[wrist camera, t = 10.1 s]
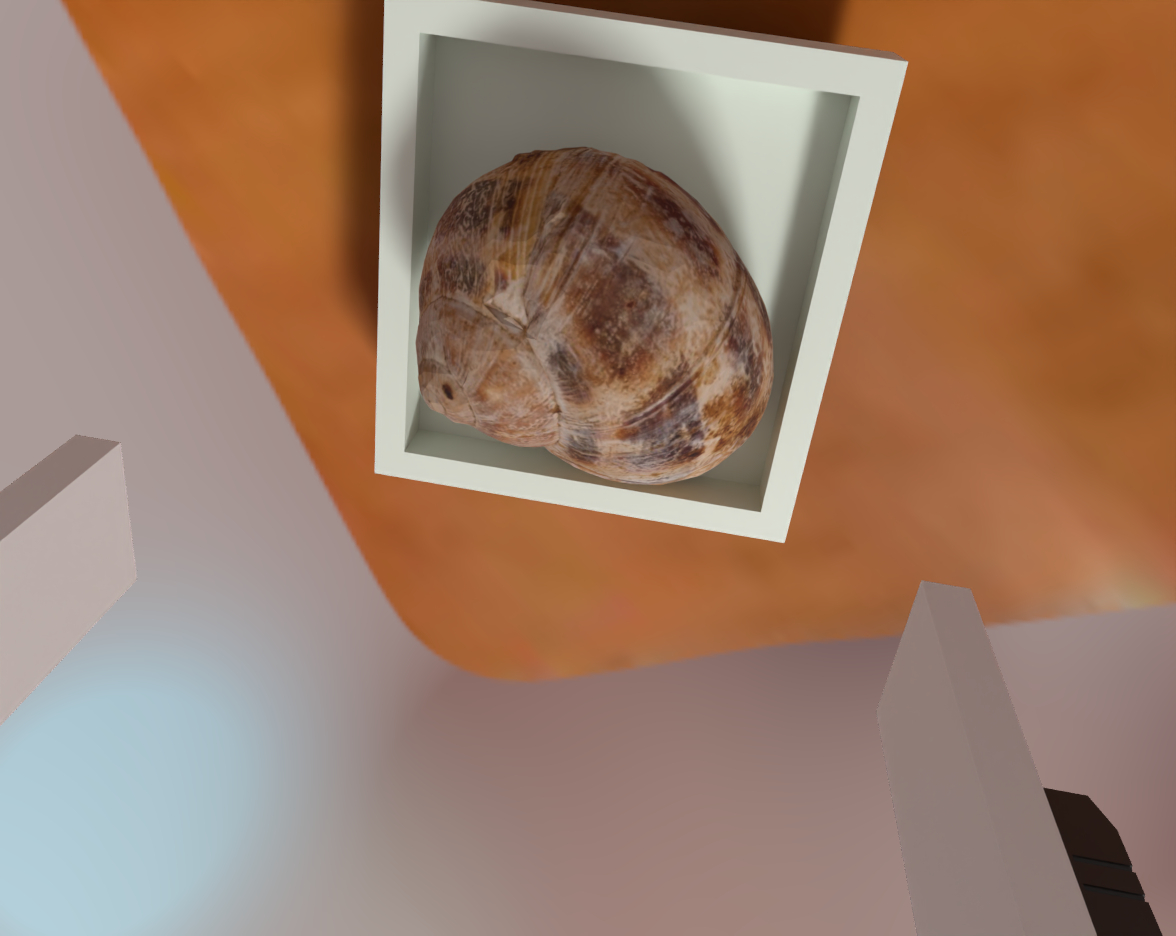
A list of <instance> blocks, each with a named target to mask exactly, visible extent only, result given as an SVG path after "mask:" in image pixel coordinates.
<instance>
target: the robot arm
mask: <svg viewBox="0 0 1176 936" xmlns="http://www.w3.org/2000/svg"><path fill="white" fill-rule="evenodd" d="M136 580H137V574H136V565H135V558H134V549H133V540H132V533H131V524H130V516H129V508H128V500H127V491H126V482H125V474H124V466H123V459H122V449H121V442H115V441H109V440H104V439H98V438H92V437H86V436H80V435H75V436H74V437H73V438H71V439H70V440H69V441H67V442H66V443H65V444H63V445H62V446H61V447H59V448H58V449H57V450H55V451H54V452H53V453H51V454H50V455H49V456H47V457H46V458H45V459H43V460H42V461H41V462H39V463H38V464H37V465H35V466H34V467H33V468H31V469H30V470H29V471H27V472H26V473H25V474H24V475H22V476H21V477H20V478H18V479H17V480H16V481H14V482H13V483H11V485H9V486H8V487H6V488H5V489H4V490H2V491H1V492H0V726H1V725H2V724H3V722H4V721H5V720H6V719H7V718H8V717H9V716H10V715H11V714H12V713H13V712H14V711H15V709H17V707H18V706H19V705H20V704H21V703H22V702H23V701H24V700H25V699H26V698H27V697H28V696H29V695H30V694H31V692H32V691H33V690H34V689H35V688H36V687H37V686H38V685H39V684H40V683H41V682H42V681H43V679H44V678H45V677H46V676H47V675H48V674H49V673H50V672H51V671H52V670H53V669H54V668H55V666H57V665H58V663H59V662H60V661H61V660H62V659H63V658H64V657H65V656H66V655H67V654H68V653H69V652H70V651H71V650H72V648H73V647H74V646H75V645H76V644H77V643H78V642H79V641H80V640H81V639H82V638H83V637H84V636H85V635H86V633H87V632H88V631H89V630H90V629H91V628H92V627H93V626H94V625H95V624H96V623H97V622H98V621H99V619H100V618H101V617H102V616H103V615H104V614H105V613H106V612H107V611H108V610H109V609H110V608H111V607H112V606H113V604H114V603H115V602H116V601H117V600H118V599H119V598H120V597H121V596H122V595H123V594H124V593H125V592H126V591H127V589H128V588H129V587H130V586H131V585H132V584H133V583H134V582H135V581H136ZM876 715H877V720H878V726H879V731H880V737H881V742H882V747H883V753H884V758H885V763H886V769H887V775H888V780H889V786H890V791H891V796H892V801H893V807H894V812H895V818H896V823H897V829H898V834H899V840H900V845H901V851H902V856H903V861H904V867H905V872H906V878H907V883H908V888H909V894H910V900H911V905H912V910H913V916H914V921H915V927H916V932H917V936H1162V933H1161V931H1160V929H1159V926H1158V924H1157V922H1156V919H1155V917H1154V915H1153V912H1152V910H1151V908H1150V905H1149V903H1148V902H1145V900H1144V896H1145V894H1144V891H1143V890H1142V887H1141V884H1140V882H1139V880H1138V877H1137V875H1136V873H1134V872H1132V864H1131V861H1130V859H1129V857H1128V854H1127V852H1126V850H1125V847H1124V845H1123V843H1122V840H1121V838H1120V836H1119V834H1118V831H1117V829H1116V828H1115V827H1114V826H1113V825H1112V824H1111V823H1110V821H1109V820H1108V819H1107V818H1106V817H1105V815H1104V814H1103V813H1102V812H1101V811H1100V810H1099V808H1098V807H1097V806H1096V805H1095V804H1094V803H1093V802H1092V800H1091V799H1090V798H1089V797H1088V796H1086V795H1080V794H1075V793H1069V792H1064V791H1058V790H1053V789H1047V788H1043V786H1042V783H1041V781H1040V778H1039V775H1038V772H1037V770H1036V767H1035V764H1034V761H1033V759H1032V756H1031V753H1030V751H1029V748H1028V745H1027V742H1026V740H1025V737H1024V734H1023V731H1022V729H1021V726H1020V723H1019V720H1018V718H1017V715H1016V712H1015V709H1014V707H1013V704H1012V701H1011V698H1010V696H1009V693H1008V690H1007V687H1006V685H1005V682H1004V679H1003V676H1002V674H1001V671H1000V668H999V666H998V663H997V660H996V657H995V655H994V652H993V649H992V646H991V644H990V641H989V638H988V635H987V633H986V630H985V627H984V624H983V622H982V619H981V616H980V613H979V611H978V608H977V605H976V602H975V600H974V597H973V594H972V591H971V589H968V588H962V587H957V586H951V585H945V584H939V583H933V582H928V581H922V580H921V583H920V586H919V589H918V592H917V595H916V598H915V601H914V604H913V606H912V609H911V612H910V615H909V618H908V621H907V624H906V627H905V630H904V633H903V635H902V638H901V641H900V644H899V647H898V650H897V653H896V656H895V659H894V661H893V664H892V667H891V670H890V673H889V676H888V679H887V682H886V685H885V688H884V691H883V693H882V696H881V699H880V702H879V705H878V708H877V711H876Z"/></svg>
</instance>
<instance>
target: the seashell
mask: <svg viewBox="0 0 1176 936" xmlns="http://www.w3.org/2000/svg"><path fill="white" fill-rule="evenodd" d="M415 343H416V354H417V364H418V381H419V388H420V392H421V394H422V396H423V398H424V400H425V402H426V404H427V405H428V406H429V407H430V409H432V410H434V411H436V412H439V413H441V414H443V415H444V416H446V417H447V418H448V419H450V420H451V421H453V422H455V423H461V424H467V425H470V426H472V427H474V428H475V429H477V430H479V431H481V432H483V433H484V434H486V435H488V436H490V437H492V438H494V439H497V440H499V441H501V442H504V443H508V444H511V445H514V446H518V447H542V446H544V447H545V448H546V449H547V450H548V451H549V452H550V453H552V454H553V455H555V456H557V457H558V458H560V459H562V460H563V461H565V462H566V463H568V464H570V465H572V466H574V467H575V468H578V469H580V470H582V471H585V472H587V473H590V474H593V475H596V476H598V477H601V478H604V479H607V480H611V481H615V482H621V483H628V484H644V485H645V484H648V485H663V484H668V483H672V482H676V481H681V480H685V479H689V478H693V477H697V476H699V475H701V474H703V473H705V472H707V471H709V470H711V469H712V468H714V467H716V466H717V465H719V464H720V463H721V462H722V461H723V460H725V459H726V458H727V457H728V456H730V455H731V454H732V453H733V452H734V451H736V450H737V449H738V448H739V447H740V446H742V445H743V443H744V442H745V441H746V440H747V439H748V438H749V437H750V436H751V435H752V433H753V431H754V430H755V428H756V427H757V425H758V423H759V422H760V420H761V418H762V416H763V414H764V411H765V409H766V407H767V403H768V400H769V397H770V393H771V390H772V384H773V378H774V366H773V340H772V333H771V326H770V320H769V316H768V313H767V310H766V306H765V304H764V301H763V299H762V297H761V295H760V293H759V290H758V288H757V286H756V284H755V282H754V280H753V279H752V277H751V275H750V273H749V271H748V269H747V268H746V266H745V264H744V263H743V261H742V260H741V258H740V256H739V255H738V253H737V252H736V251H735V249H734V248H733V246H732V245H731V243H730V241H729V239H728V238H727V236H726V235H725V233H724V231H723V230H722V228H721V227H720V225H719V224H718V223H717V222H716V221H715V220H714V219H713V217H712V216H711V215H710V214H709V213H708V212H707V211H706V210H705V209H704V207H703V206H702V205H701V204H700V203H699V202H698V200H696V199H695V198H694V197H693V196H691V195H690V194H689V193H688V192H687V191H685V190H684V189H683V188H682V187H680V186H679V185H678V184H677V183H676V182H674V181H673V180H672V179H671V178H669V177H668V176H666V175H665V174H663V173H662V172H660V171H655V170H653V169H651V168H649V167H647V166H645V165H644V164H643V163H641V162H639V161H637V160H634V159H630V158H625V157H623V156H621V155H619V154H616V153H611V152H606V151H600V150H597V149H594V148H592V147H590V148H588V147H573V148H562V149H558V150H534V151H532V152H529V153H519V154H517V155H515V156H514V158H513V160H512V161H511V162H508V163H506V164H504V165H502V166H500V167H498V168H496V169H494V170H492V171H490V172H488V173H486V174H484V175H482V176H481V177H479V178H478V179H476V180H475V181H473V182H472V183H470V184H469V185H468V186H467V187H466V188H465V189H464V190H462V191H461V192H460V193H459V194H458V195H457V196H456V197H455V198H454V199H453V200H452V202H451V203H450V205H449V206H448V208H447V209H446V211H445V212H444V214H443V216H442V217H441V219H440V220H439V222H438V224H437V226H436V229H435V232H434V234H433V237H432V239H431V242H430V244H429V247H428V250H427V254H426V257H425V260H424V264H423V269H422V274H421V279H420V284H419V325H418V330H417V336H416V342H415Z"/></svg>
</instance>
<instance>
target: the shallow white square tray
mask: <svg viewBox="0 0 1176 936" xmlns="http://www.w3.org/2000/svg"><path fill="white" fill-rule="evenodd" d="M907 65H908V61H906V60H905V59H903V58H902V57H900V56H899V55H897V54H896V53H894V52H888V51H881V50H874V49H867V48H860V47H853V46H846V45H839V44H832V43H825V42H818V41H811V40H804V39H797V38H790V37H783V36H776V35H769V34H762V33H755V32H748V31H741V30H734V29H727V28H720V27H713V26H706V25H699V24H692V23H685V22H678V21H671V20H664V19H657V18H650V17H643V16H636V15H629V14H622V13H615V12H608V11H601V10H594V9H587V8H580V7H573V6H566V5H559V4H552V3H545V2H538V1H531V0H384V43H383V92H382V140H381V189H380V238H379V287H378V335H377V384H376V433H375V473H378V474H383V475H389V476H395V477H401V478H407V479H413V480H419V481H424V482H430V483H436V484H442V485H448V486H454V487H460V488H465V489H471V490H477V491H483V492H489V493H495V494H501V495H506V496H512V497H518V498H524V499H530V500H536V501H542V502H547V503H553V504H559V505H565V506H571V507H577V508H583V509H588V510H594V511H600V512H606V513H612V514H618V515H624V516H629V517H635V518H641V519H647V520H653V521H659V522H665V523H670V524H676V525H682V526H688V527H694V528H700V529H706V530H711V531H717V532H723V533H729V534H735V535H741V536H746V537H752V538H758V539H764V540H770V541H776V542H782V543H785V539H786V535H787V531H788V528H789V524H790V520H791V516H792V512H793V508H794V504H795V500H796V496H797V493H798V489H799V485H800V481H801V477H802V473H803V469H804V465H805V461H806V458H807V454H808V450H809V446H810V442H811V438H812V434H813V430H814V426H815V423H816V419H817V415H818V411H819V407H820V403H821V399H822V395H823V391H824V388H825V384H826V380H827V376H828V372H829V368H830V364H831V360H832V356H833V353H834V349H835V345H836V341H837V337H838V333H839V329H840V325H841V322H842V318H843V314H844V310H845V306H846V302H847V298H848V294H849V290H850V287H851V283H852V279H853V275H854V271H855V267H856V263H857V259H858V255H859V252H860V248H861V244H862V240H863V236H864V232H865V228H866V224H867V220H868V217H869V213H870V209H871V205H872V201H873V197H874V193H875V189H876V185H877V182H878V178H879V174H880V170H881V166H882V162H883V158H884V154H885V150H886V147H887V143H888V139H889V135H890V131H891V127H892V123H893V119H894V115H895V112H896V108H897V104H898V100H899V96H900V92H901V88H902V84H903V80H904V77H905V73H906V69H907ZM573 147H588V148H590V147H592V148H594V149H597V150H600V151H606V152H611V153H616V154H619V155H621V156H623V157H625V158H630V159H634V160H637V161H639V162H641V163H643V164H644V165H645V166H647V167H649V168H651V169H653V170H655V171H660V172H662V173H663V174H665V175H666V176H668V177H669V178H671V179H672V180H673V181H674V182H676V183H677V184H678V185H679V186H680V187H682V188H683V189H684V190H685V191H687V192H688V193H689V194H690V195H691V196H693V197H694V198H695V199H696V200H698V202H699V203H700V204H701V205H702V206H703V207H704V209H705V210H706V211H707V212H708V213H709V214H710V215H711V216H712V217H713V219H714V220H715V221H716V222H717V223H718V224H719V225H720V227H721V228H722V230H723V231H724V233H725V235H726V236H727V238H728V239H729V241H730V243H731V245H732V246H733V248H734V249H735V251H736V252H737V253H738V255H739V256H740V258H741V260H742V261H743V263H744V264H745V266H746V268H747V269H748V271H749V273H750V275H751V277H752V279H753V280H754V282H755V284H756V286H757V288H758V290H759V293H760V295H761V297H762V299H763V301H764V304H765V306H766V310H767V313H768V316H769V320H770V326H771V333H772V340H773V366H774V378H773V384H772V390H771V393H770V397H769V400H768V403H767V407H766V409H765V411H764V414H763V416H762V418H761V420H760V422H759V423H758V425H757V427H756V428H755V430H754V431H753V433H752V435H751V436H750V437H749V438H748V439H747V440H746V441H745V442H744V443H743V445H742V446H740V447H739V448H738V449H737V450H736V451H734V452H733V453H732V454H731V455H730V456H728V457H727V458H726V459H725V460H723V461H722V462H721V463H720V464H719V465H717V466H716V467H714V468H712V469H711V470H709V471H707V472H705V473H703V474H701V475H699V476H697V477H693V478H689V479H685V480H681V481H676V482H672V483H668V484H663V485H648V484H645V485H644V484H628V483H621V482H615V481H611V480H607V479H604V478H601V477H598V476H596V475H593V474H590V473H587V472H585V471H582V470H580V469H578V468H575V467H574V466H572V465H570V464H568V463H566V462H565V461H563V460H562V459H560V458H558V457H557V456H555V455H553V454H552V453H550V452H549V451H548V450H547V449H546V448H545V447H544V446H542V447H518V446H514V445H511V444H508V443H504V442H501V441H499V440H497V439H494V438H492V437H490V436H488V435H486V434H484V433H483V432H481V431H479V430H477V429H475V428H474V427H472V426H470V425H467V424H461V423H455V422H453V421H451V420H450V419H448V418H447V417H446V416H444V415H443V414H441V413H439V412H436V411H434V410H432V409H430V407H429V406H428V405H427V404H426V402H425V400H424V398H423V396H422V394H421V392H420V388H419V381H418V364H417V354H416V343H415V342H416V336H417V330H418V325H419V284H420V279H421V274H422V269H423V264H424V260H425V257H426V254H427V250H428V247H429V244H430V242H431V239H432V237H433V234H434V232H435V229H436V226H437V224H438V222H439V220H440V219H441V217H442V216H443V214H444V212H445V211H446V209H447V208H448V206H449V205H450V203H451V202H452V200H453V199H454V198H455V197H456V196H457V195H458V194H459V193H460V192H461V191H462V190H464V189H465V188H466V187H467V186H468V185H469V184H470V183H472V182H473V181H475V180H476V179H478V178H479V177H481V176H482V175H484V174H486V173H488V172H490V171H492V170H494V169H496V168H498V167H500V166H502V165H504V164H506V163H508V162H511V161H512V160H513V158H514V156H515V155H517V154H519V153H529V152H532V151H534V150H558V149H562V148H573Z"/></svg>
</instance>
